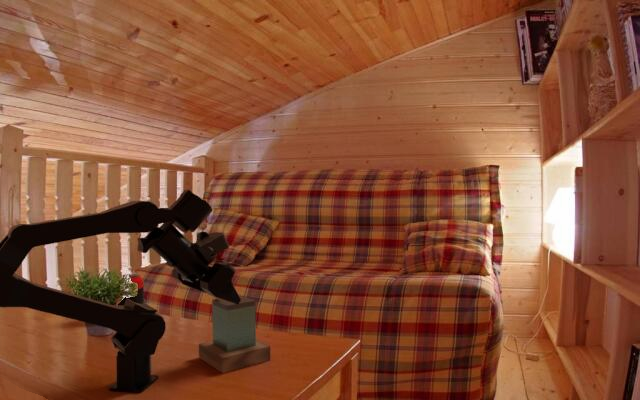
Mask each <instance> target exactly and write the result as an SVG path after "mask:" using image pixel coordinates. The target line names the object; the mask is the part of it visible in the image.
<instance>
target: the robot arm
mask: <svg viewBox="0 0 640 400" xmlns="http://www.w3.org/2000/svg"><path fill="white" fill-rule="evenodd" d="M212 212H213V207H212V206H211V205H210V204H209V203H208V201H206V199H204V198H201V197H200V196H199V195H197V194H195V193H194V192H192V191H191V190H190V189H184V190H183V191H182V192H181V194H179V197H177V199H176V200H175V201H174V203H172V204H171V206H169V207H158V206H157V205H156V204H154V203H153V202H152V201H149V200H132V201H131V200H130V201H128V202H125V203H122V204H118V205H117V206H113V207H111V208H109V209H106V210H102V211H100V212H95V213H90V214H83V215H76V216H72V217H64V218H59V219H52V220H46V221H39V222H33V223H18V224H15V225H14V226H12V227H10V229H9V231H8V233H7V234H6V236H5V237H3V239H2V240H1V241H0V308H25V309H26V308H27V309H29V310H30V309H31V310H34V311H38V312H43V313H48V314H50V315H55V316H59V317H63V318H67V319H70V320H74V321H78V322H83V323H86V324H90V325H93V326H99V327H102V328H106V329H110V330H112V331H114V332H115V333H114V334H113V335H112V336H111V338H110V340H111V342H112V344H113V347H114V348H115V349H116V350H118V351H117V353H116V354H117V355H116V357H115V358H116V365H115V367H116V368H115V369H116V381H115V382H114V383H113V384H111V385H110V386H108V390H109V391H116V392H119V391H120V392H134V393H142V392H143V391H145V390H146V389H147V388H149V387H150V386H151V385H152V384H154V383H155V382H156V381H158V380H159V378H160V377H159V375H158V374H152V355H155V353H156V350H157V349H158V348H157V347H158V344H159V343H160V342H159V341H160V340H161V339H162V337H163V336H164V335H165V333H166V329H167V328H166V327H167V326H166V321H165V319H164V317H163V316H162V315H160V314H159V313H157V312H158V310H157V309H156V308H154V307H152V306H151V305H149V304H147V303H145V302H144V303H143V304H139V303H135V302H133V301H131V300H129V299H126V301H125V305H124V306H116V305H115V304H114V305H113V304H110V303H106V302H104V301H99V300H95V299H93V298H88V297H84V296H81V295H77V294H74V293H70V292H66V291H63V290H60V289H57V288H53V287H50V286H46V285H44V284H43V285H42V284H39V283H36V282H35V283H34V282H33V281H31V280H29V279H27V278H25V277H23V276H21V275H19V274H18V273H16V272H17V271H18V269H19V268H20V266H21V264H22V263H23V262H24V260H25V259H26V257H27V256H28V254H29V253H30V252H31V251H32V249H34V248H36V247H41V246H46V245H51V244H57V243H61V242H62V243H63V242H67V241H72V240H77V239H85V238H88V237H94V236H99V235H105V234H140V233H141V234H142V233H143V234H144V233H148V234H147V235H145V236H144V237H138V238H137V243H138V244H137V251H138V252H139V253H143V254H147V253H148V252H149V251H150V250H151V249H152V250H153V251H154V252H155V253H156V254H157V255H158V256H159V257H161V258H162V259H163V260H164V261H165V264H166V265H167V266H168V267H170V268H172V269H173V270H171V271H172V272H171V277H172V278H173V279H174V280H175V281H176V282H177V283H179V284H182V285H183V286H186V287H188V288H191V289H195V290H197V291H200V292H203V293H205V294H207V295H209V296H210V297H211V296H212V297H215V298H216V299H223V300H226V301H229V302H232V303H235V304H239V303H240V301H241V299H240V297H239V293H238V292H237V290H236V288H235V286H234V284H233V277H234V276H235V274H236V269H235V268H234V267H233V266H232V265H231V263H227V262H222V261H219V262H214V261H215V258H214V256H216V255H217V254H219V253H221V252H223V251H224V250H225V251H227V249H229V248H230V245H229V242H228V241H227V238H226V236H225V234H224V232H218V231H216V232H210V234H209V232H207V231H203V230H202V231H200V232H197V233H196V241H195V242H191V241H190V240H189V239H188V238H186V236H185V235H184V234H186V233H188V231H189V232H191V233H194V232H195V231H196V230H197V229H199V227H200V226H201V225H202V224H203V223H204V221H205V220H206V219H207V218H209V216H210V215H211V214H212ZM159 225H160V226H159ZM158 226H159V227H158ZM180 231H181V232H183V233H184V234H183V233H181V232H180ZM213 262H214V264H213V265H212V266H210V264H212V263H213Z"/></svg>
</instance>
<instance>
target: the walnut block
mask: <svg viewBox="0 0 640 400" xmlns="http://www.w3.org/2000/svg"><path fill="white" fill-rule="evenodd" d="M198 358H199V359H200V360H202V361H203V362H205V363H206V364H208V365H210V367H212V368H214V369H216V370H217V371H219V372H220V373H221V372H222V374H225V373H228V372H233V371H236V370H240V369H244V368H247V367H251V366H254V365H257V364H258V365H259V364H262V363H265V362H269V361H271V345H269V344H267V343H266V342H263V341H261V340H259V339H256V346H252V347H248V348H244V349H240V350H236V351H232V352H228V353H227V352H225V351H224V350H222V349H220V348H218V347H217V346H215V345H213V340H211V341H206V342H201V343H198Z"/></svg>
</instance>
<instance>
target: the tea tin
mask: <svg viewBox="0 0 640 400" xmlns="http://www.w3.org/2000/svg"><path fill="white" fill-rule="evenodd" d="M238 295H239V294H238ZM239 297H240V299H241V301H240V303H239V304H235V303H232V302H229V301H226V300H223V299H220V298H216V299H215V298H214V299H212V300H211V301H212V341H213V345H215V346H217V347H218V348H220V349H222V350H224V351H225V352H227V353H228V352H232V351H236V350H240V349H244V348H248V347H252V346H256V338H257V337H256V335H257V334H256V330H257V329H256V324H257V323H256V300H255V299H252V298H249V297H245V296H243V295H239Z"/></svg>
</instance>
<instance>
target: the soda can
mask: <svg viewBox="0 0 640 400" xmlns="http://www.w3.org/2000/svg"><path fill="white" fill-rule="evenodd" d="M128 275H129V277H130V278H131V281H132V282H135V283H137V284H138V294H137V296H135V297H130V298H126V297H125V298H124V299H123V300H122V301H121V302H120V303H119V304H118V306H124V305H125V301H126V299H129V300H131V301H133V302H135V303H139V304H143V303H145V302H144V301H145V300H144V297H145V296H144V294H145V293H144V291H145V290H144V279H143V278H142V277H141V276H140V274H137V273H134V274H132V273H131V274H128Z"/></svg>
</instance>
